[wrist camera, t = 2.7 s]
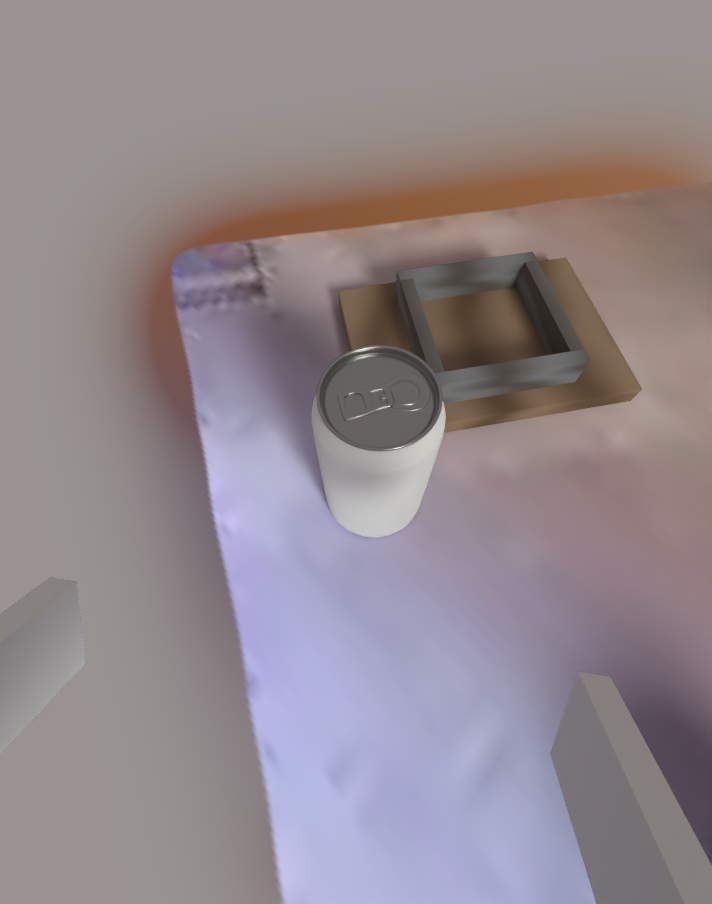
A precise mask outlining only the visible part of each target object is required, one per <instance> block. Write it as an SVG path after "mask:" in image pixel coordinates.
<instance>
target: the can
mask: <svg viewBox="0 0 712 904" xmlns="http://www.w3.org/2000/svg"><path fill="white" fill-rule="evenodd" d="M445 420H446V414H445V407H444V403H443V396H442V389H441V385H440V382H439V380H438V378H437V376H436V374H435V373H434V371H433V370H432V369H431V368H430V366H429V365H428V364H427V363H426V362H424V361H423V360H422V359H421V358H419V357H418V356H416V355H414V354H413V353H411V352H409V351H406V350H404V349H401V348H397V347H392V346H385V345H372V346H365V347H360V348H357V349H354V350H351V351H349V352H347V353H345V354H343V355H341V356H340V357H338V358H337V359H336V360H335V361H333V362H332V363H331V364H330V365H329V366H328V368H327V369H326V370H325V372H324V373H323V375H322V377H321V379H320V381H319V384H318V388H317V394H316V396H315V398H314V401H313V405H312V413H311V422H312V430H313V436H314V441H315V446H316V451H317V456H318V461H319V466H320V471H321V476H322V481H323V485H324V490H325V494H326V499H327V502H328V506H329V508H330V510H331V512H332V514H333V516H334V517H335V519H336V520H337V521H338V522H339V523H340V524H341V525H342V526H343V527H345V528H346V529H348V530H349V531H351V532H353V533H355V534H358V535H361V536H366V537H383V536H387V535H390V534H393V533H395V532H397V531H399V530H401V529H402V528H404V527H405V526H406V525H407V524H408V523H409V522H410V521H411V520H412V519H413V517H414V516H415V514H416V512H417V510H418V508H419V506H420V503H421V500H422V497H423V494H424V492H425V489H426V486H427V483H428V480H429V477H430V474H431V471H432V468H433V465H434V462H435V459H436V456H437V453H438V450H439V447H440V444H441V440H442V437H443V433H444V429H445Z"/></svg>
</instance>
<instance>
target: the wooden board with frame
mask: <svg viewBox="0 0 712 904" xmlns="http://www.w3.org/2000/svg"><path fill="white" fill-rule="evenodd" d="M338 292H339V305H340V310H341V314H342V318H343V323H344V327H345V332H346V336H347V340H348V345H349V349H350V351H351V350H354V349H357V348H360V347H365V346H372V345H385V346H392V347H397V348H401V349H404V350H406V351H409V352H411V353H413V354H414V355H416V356H418V357H419V358H421V359H422V360H423V361H424V362H426V363H427V364H428V365H429V366H430V368H431V369H432V370H433V371H434V373H435V374H436V376H437V378H438V380H439V382H440V385H441V389H442V396H443V403H444V407H445V414H446V420H445V429H444V432H450V431H456V430H462V429H468V428H473V427H479V426H485V425H491V424H497V423H503V422H508V421H514V420H520V419H526V418H532V417H538V416H543V415H549V414H555V413H561V412H567V411H573V410H578V409H584V408H590V407H596V406H602V405H608V404H613V403H619V402H625V401H631V400H632V399H633V398H634V397H635V396H636V395H637V394H638V393H639V392H640V391H641V390H642V388H641V386H640V385H639V383H638V381H637V379H636V378H635V376H634V374H633V373H632V371H631V369H630V367H629V366H628V364H627V362H626V360H625V359H624V357H623V355H622V354H621V352H620V350H619V348H618V347H617V345H616V343H615V341H614V340H613V338H612V336H611V335H610V333H609V331H608V329H607V328H606V326H605V324H604V322H603V321H602V319H601V317H600V316H599V314H598V312H597V310H596V309H595V307H594V305H593V303H592V302H591V300H590V298H589V297H588V295H587V293H586V291H585V290H584V288H583V286H582V284H581V283H580V281H579V279H578V278H577V276H576V274H575V272H574V271H573V269H572V267H571V265H570V264H569V262H568V260H567V259H566V258H560V259H553V260H546V261H539V262H538V261H537V259H536V257H535V255H534V254H533V252H527V253H521V254H514V255H507V256H500V257H493V258H486V259H479V260H472V261H465V262H458V263H451V264H444V265H437V266H430V267H423V268H416V269H409V270H402V271H397V279H396V282H395V283H388V284H381V285H374V286H367V287H361V288H354V289H347V290H340V291H338Z"/></svg>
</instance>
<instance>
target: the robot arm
mask: <svg viewBox="0 0 712 904" xmlns="http://www.w3.org/2000/svg"><path fill="white" fill-rule="evenodd" d="M84 664H85V655H84V645H83V636H82V627H81V617H80V608H79V598H78V589H77V582H75V581H69V580H64V579H58V578H52V577H50V578H48V579H47V580H46V581H44V582H43V583H42V584H40V585H39V586H38V587H36V588H35V589H33V590H32V591H31V592H29V593H28V594H27V595H25V596H24V597H23V598H21V599H20V600H18V601H17V602H16V603H14V604H13V605H12V606H10V607H9V608H8V609H6V610H5V611H3V612H2V613H1V614H0V754H1V753H2V752H3V751H4V750H5V749H6V748H7V747H8V746H9V745H10V743H11V742H12V741H13V740H14V739H15V738H16V737H17V736H18V735H19V734H20V733H21V732H22V730H23V729H24V728H25V727H26V726H27V725H28V724H29V723H30V722H31V721H32V720H33V719H34V718H35V717H36V715H37V714H38V713H39V712H40V711H41V710H42V709H43V708H44V707H45V706H46V705H47V704H48V703H49V701H50V700H51V699H52V698H53V697H54V696H55V695H56V694H57V693H58V692H59V691H60V689H62V687H63V686H64V685H65V684H66V683H67V682H68V681H69V680H70V678H72V677H73V676H74V675H75V674H76V672H77V671H78V670H79V669H80V668H81V667H82V666H83V665H84ZM550 754H551V758H552V761H553V764H554V767H555V771H556V774H557V777H558V780H559V783H560V787H561V790H562V793H563V796H564V800H565V803H566V806H567V809H568V813H569V816H570V819H571V822H572V826H573V829H574V832H575V835H576V839H577V842H578V845H579V848H580V851H581V855H582V858H583V861H584V864H585V868H586V871H587V874H588V877H589V881H590V884H591V887H592V890H593V894H594V897H595V900H596V903H597V904H712V865H711V863H710V861H709V859H708V857H707V856H706V854H705V852H704V850H703V848H702V846H701V844H700V842H699V841H698V839H697V837H696V835H695V833H694V831H693V829H692V828H691V826H690V824H689V822H688V820H687V818H686V816H685V815H684V813H683V811H682V809H681V807H680V805H679V803H678V802H677V800H676V798H675V796H674V794H673V792H672V790H671V789H670V787H669V785H668V783H667V781H666V779H665V777H664V776H663V774H662V772H661V770H660V768H659V766H658V764H657V762H656V761H655V759H654V757H653V755H652V753H651V751H650V749H649V748H648V746H647V744H646V742H645V740H644V738H643V736H642V735H641V733H640V731H639V729H638V727H637V725H636V723H635V722H634V720H633V718H632V716H631V714H630V712H629V710H628V709H627V707H626V705H625V703H624V701H623V699H622V697H621V695H620V694H619V692H618V690H617V688H616V686H615V684H614V682H613V681H612V679H611V677H607V676H601V675H595V674H590V673H584V672H579V671H578V674H577V677H576V680H575V683H574V685H573V688H572V691H571V694H570V697H569V700H568V703H567V706H566V709H565V712H564V715H563V717H562V720H561V723H560V726H559V729H558V732H557V735H556V738H555V741H554V744H553V746H552V749H551V752H550Z"/></svg>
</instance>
